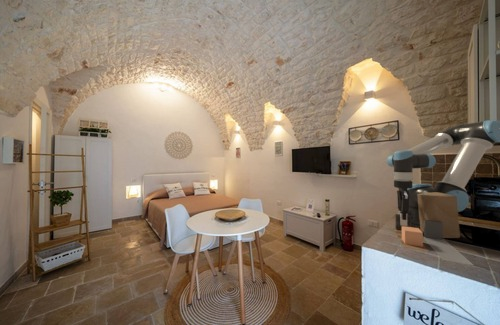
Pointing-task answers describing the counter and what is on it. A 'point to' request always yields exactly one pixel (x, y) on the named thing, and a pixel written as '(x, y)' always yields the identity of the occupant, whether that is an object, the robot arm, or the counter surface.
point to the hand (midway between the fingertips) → (402, 224)
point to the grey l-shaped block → (441, 243)
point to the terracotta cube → (412, 236)
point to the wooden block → (440, 212)
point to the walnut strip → (399, 232)
